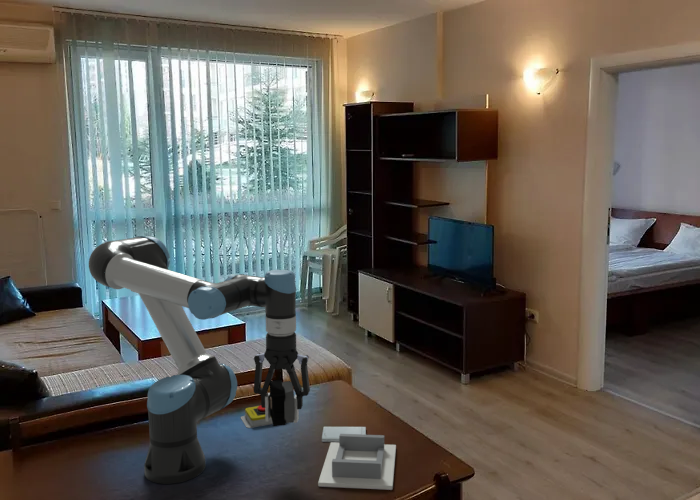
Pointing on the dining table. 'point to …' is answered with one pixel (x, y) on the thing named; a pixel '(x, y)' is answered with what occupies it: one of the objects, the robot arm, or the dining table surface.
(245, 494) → the dining table surface
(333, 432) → the hard drive
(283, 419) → the cpu cooler
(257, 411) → the emergency button
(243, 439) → the dining table surface
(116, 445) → the dining table surface
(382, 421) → the dining table surface
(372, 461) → the housing
